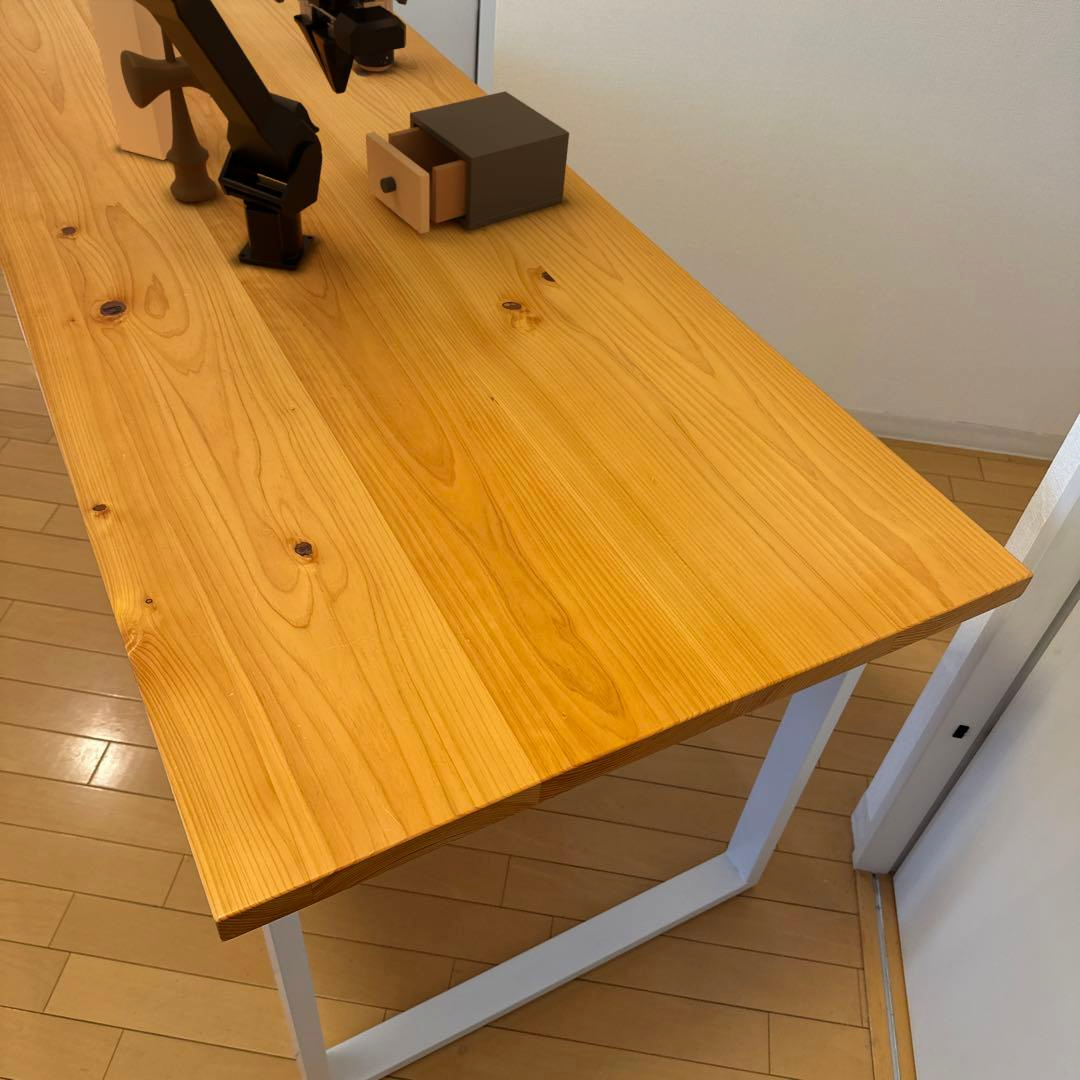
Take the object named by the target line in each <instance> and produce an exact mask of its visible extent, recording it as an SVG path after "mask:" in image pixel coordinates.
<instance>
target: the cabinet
mask: <svg viewBox="0 0 1080 1080" xmlns="http://www.w3.org/2000/svg"><path fill="white" fill-rule="evenodd" d="M418 126H419V127H421V128H422V129H423V130H425V131H426V132H428V133H429V134H430V135H432V136H433V137H434V138H436V139H437V140H438V141H440V142H441V143H442V144H444V145H445V146H447V147H448V148H449V149H451V150H452V151H453V152H455V153H456V154H457V155H459V156H460V157H462V158H463V159H464V160H466V161H467V162H468V164H467V198H466V215H463V216H459V217H456V218H454V219H455V220H456V221H458V223H460V224H461V225H462V226H464V227H465V228H466V229H468V230H470V231H471V230H474V229H477V228H481V227H484V226H487V225H490V224H494V223H498V222H501V221H503V220H507V219H511V218H515V217H517V216H521V215H524V214H528V213H531V212H534V211H537V210H541V209H543V208H544V209H545V208H548V207H550V206H554V205H557V204H561V203H563V198H564V190H565V179H566V169H567V159H568V150H569V140H570V132H569V131H567V130H566V129H565V128H563V127H562V126H560V125H559V124H557V123H556V122H554V121H553V120H551V119H549V118H548V117H546V116H545V115H543V114H541V113H540V112H538V111H536V110H535V109H534V108H532V107H530V106H529V105H528V104H527V103H524V102H523V101H522V100H520V99H518V98H517V97H515V96H513V95H512V94H511V93H509V92H508V91H501V92H496V93H492V94H488V95H483V96H479V97H474V98H470V99H466V100H460V101H456V102H451V103H448V104H444V105H439V106H434V107H430V108H426V109H422V110H417V111H412V112H410V113H409V129H410V128H414V127H418Z"/></svg>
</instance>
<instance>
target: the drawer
mask: <svg viewBox="0 0 1080 1080" xmlns="http://www.w3.org/2000/svg"><path fill="white" fill-rule="evenodd" d="M387 136H388V138H387V139H388V140H386V139H385V138H383V137H382V136H381V135H379V134H378V133H377V132H376V131H372V132H368V133H365V147H366V165H367V166H366V168H367V170H366V171H367V189H368V192H370V193H371V195H373V196H374V197H376V199H378V200H379V201H380V202H382V204H384V205H385V206H386V207H387V208H389V209H390V210H391V211H392V212H393V213H395V214H396V216H398V217H400V218H401V219H402V220H403V221H404V222H405V223H407V224H408V225H409V226H410V227H411V228H413V229H414V230H415V231H416V232H417V233H419V234H420V235H421V234H425V233H428V232H430V220H432V221H433V222H434V223H435V224H438V223H441V222H444V221H445V222H446V221H449V220H452V219H455V218H456V217H459V216H463V215H466V198H467V164H468V162H467V161H466V160H464V159H463V158H462V157H460V156H459V155H457V154H456V153H455V152H453V151H452V150H451V149H449V148H448V147H447V146H445V145H444V144H442V143H441V142H440V141H438V140H437V139H436V138H434V137H433V136H432V135H430V134H429V133H428V132H426V131H425V130H423V129H422V128H421V127H419V126H418V127H414V128H410V127H409V128H406V129H402V130H398V131H394V132H388V135H387Z"/></svg>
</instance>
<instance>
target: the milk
mask: <svg viewBox="0 0 1080 1080" xmlns="http://www.w3.org/2000/svg"><path fill="white" fill-rule="evenodd" d="M87 3H88V7H89V13H90V16H91V21H92V25H93V26H92V27H93V29H94V34H95V38H96V44H97V48H98V51H99V56H100V60H101V66H102V70H103V73H104V77H105V83H106V87H107V92H108V96H109V101H110V106H111V110H112V114H113V118H114V122H115V127H116V131H117V137H118V141H119V145H120V149H121V150H122V151H127V152H131V153H133V154H138V155H140V156H141V155H142V156H145V157H150V158H153V159H158V160H160V161H165V160H167V157H166V154H167V152H168V151H169V150H170V149H171V147H172V112H171V99H170V90H168V91H165V92H163V93H162V94H161V95H159V96H158V97H157V98H156V99H155V100H153V101H152V102H151V103H150V104H149V105H148V106H146V107H145V108H143V109H140V108H139V107H137V106H136V105H135V104H134V102H133V101H132V99H131V97H130V95H129V93H128V90H127V88H126V85H125V82H124V78H123V74H122V69H121V63H120V55H121V53H122V51H124V50H128V51H132V52H134V53H137V54H139V55H142V56H144V57H147V58H151V59H156V60H163V59H165V53H164V46H163V39H162V32H161V27H160V25H159V24H158V23H157V21H156V20H155V18H154V17H153V16H152V14H151V13H150V12H149V11H148V10H147V9H146V8H145V7H144V6H142V5H141V4H139V3H138V2H136V1H135V0H87ZM172 45H173V43H172ZM173 49H174V54H175V58H176V57H178V55H177V49H176V47H175V46H174V45H173ZM182 90H183V91H184V89H183V88H182Z"/></svg>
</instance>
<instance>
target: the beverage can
mask: <svg viewBox="0 0 1080 1080" xmlns="http://www.w3.org/2000/svg"><path fill="white" fill-rule="evenodd" d="M359 5H362V6H364V7H372V6H378V5H380V6H382V7H383V8H385V9H387V10H388V11H390V12H391V13H393V14H394V0H375V1H374V2H368V3H364V2H359ZM354 61H355V63H357V64H358V65H359V67H360V68H361V69H362V70H364V71H368V72H383V71H386V70H388V69H389V68H390V66H391V65H392V64H393V63H394V61H395V50H390V51H385V52H380V53H375V54H369V55H364V56H355V58H354Z"/></svg>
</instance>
